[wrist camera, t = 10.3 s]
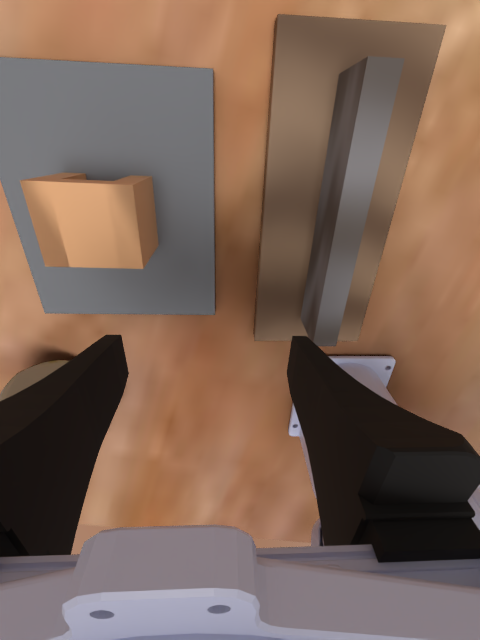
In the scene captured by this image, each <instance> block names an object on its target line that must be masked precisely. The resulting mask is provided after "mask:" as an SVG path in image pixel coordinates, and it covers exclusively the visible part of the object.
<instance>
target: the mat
mask: <svg viewBox="0 0 480 640" xmlns="http://www.w3.org/2000/svg"><path fill="white" fill-rule="evenodd" d="M58 173H85V174H86V179H87V180H101V181H115V180H118V179H121V178H124V177H127V176H130V175H134V176H152V181H153V192H154V202H155V213H156V223H157V234H158V244H159V246H158V247H157V249H156V250H155V252H154V253H153V255H152V256H151V258H150V259H149V261H148V262H147V264H146V266H145V267H144V269H125V268H83V267H45V264H44V260H43V257H42V254H41V250H40V247H39V244H38V240H37V237H36V234H35V230H34V227H33V223H32V220H31V217H30V213H29V210H28V207H27V203H26V200H25V197H24V193H23V190H22V187H21V183H20V180H25V179H30V178H36V177H42V176H47V175H53V174H58ZM0 180H1V183H2V186H3V189H4V192H5V195H6V198H7V201H8V204H9V207H10V210H11V213H12V216H13V219H14V222H15V225H16V228H17V231H18V234H19V237H20V240H21V243H22V246H23V249H24V252H25V255H26V258H27V261H28V264H29V267H30V270H31V273H32V276H33V279H34V282H35V285H36V288H37V291H38V294H39V297H40V300H41V303H42V306H43V309H44V312H45V313H64V314H176V315H215V233H214V105H213V69H208V68H190V67H171V66H153V65H134V64H116V63H97V62H79V61H61V60H42V59H24V58H5V57H0Z"/></svg>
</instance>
